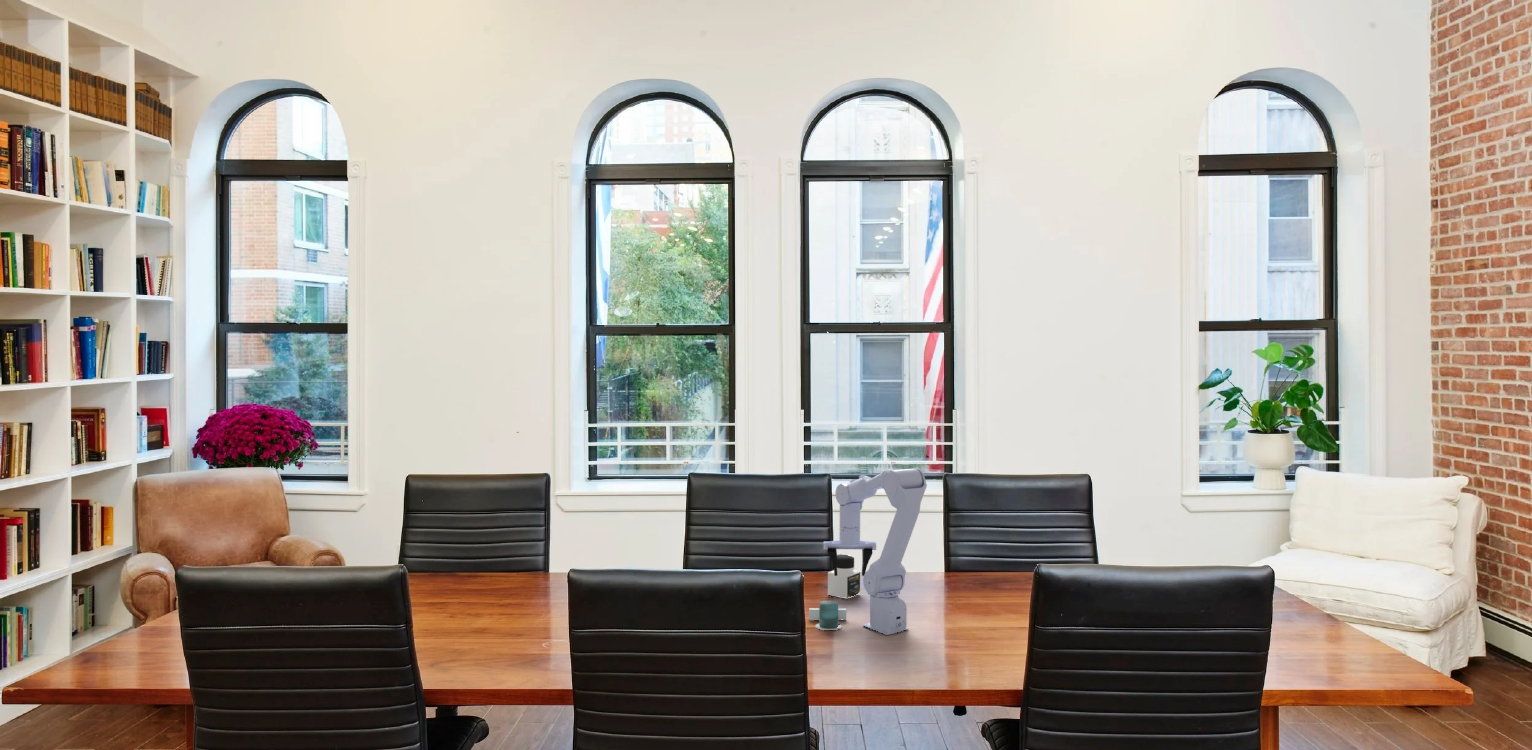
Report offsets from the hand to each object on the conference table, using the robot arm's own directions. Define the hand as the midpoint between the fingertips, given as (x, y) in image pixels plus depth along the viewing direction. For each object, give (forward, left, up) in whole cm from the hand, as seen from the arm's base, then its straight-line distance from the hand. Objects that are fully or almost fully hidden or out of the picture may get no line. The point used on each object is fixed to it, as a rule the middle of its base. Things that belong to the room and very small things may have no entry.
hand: (849, 575), depth 253 cm
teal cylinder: (-7, +13, -10) cm, 18 cm away
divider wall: (-2, +10, -10) cm, 14 cm away
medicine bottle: (+14, -10, -11) cm, 20 cm away
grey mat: (-7, +13, -10) cm, 18 cm away
